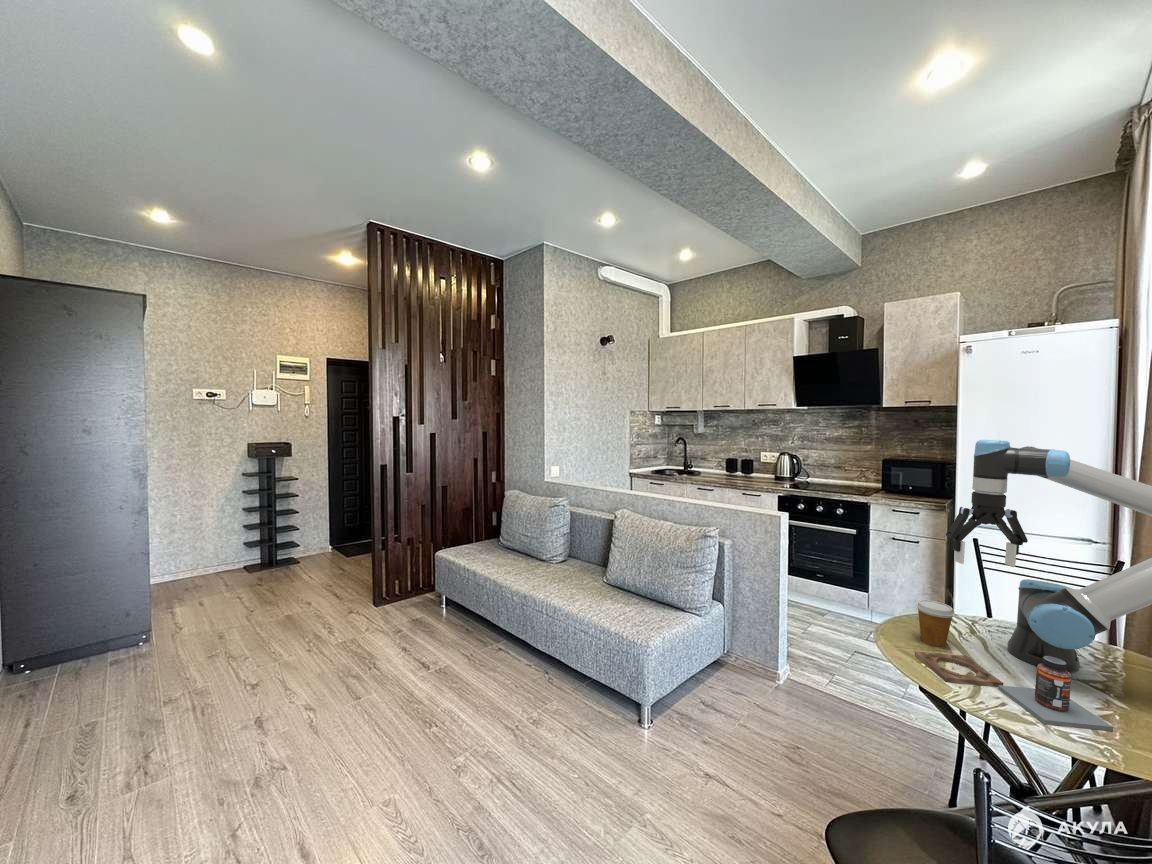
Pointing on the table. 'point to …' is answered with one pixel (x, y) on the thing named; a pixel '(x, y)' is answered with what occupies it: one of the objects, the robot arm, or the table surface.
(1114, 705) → the table surface
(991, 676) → the socket board
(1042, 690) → the supplement bottle
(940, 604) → the disposable coffee cup
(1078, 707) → the slate pad
